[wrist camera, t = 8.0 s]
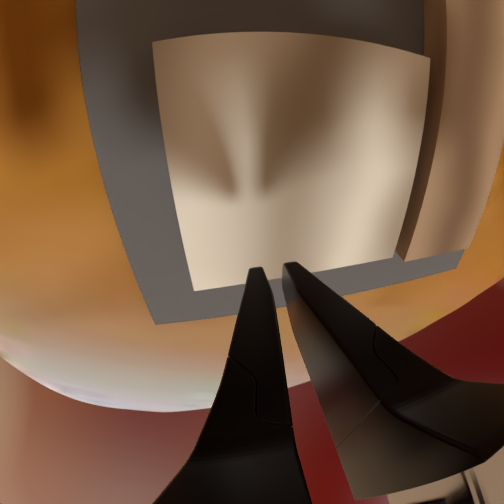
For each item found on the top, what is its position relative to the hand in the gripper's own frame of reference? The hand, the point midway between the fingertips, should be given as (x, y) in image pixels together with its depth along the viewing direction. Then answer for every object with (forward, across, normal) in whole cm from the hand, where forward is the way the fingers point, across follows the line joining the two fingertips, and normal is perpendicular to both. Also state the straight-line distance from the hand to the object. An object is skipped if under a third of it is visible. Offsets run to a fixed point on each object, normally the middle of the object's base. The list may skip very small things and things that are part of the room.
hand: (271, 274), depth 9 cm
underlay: (+5, -5, -9) cm, 11 cm away
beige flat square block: (+4, -2, -2) cm, 5 cm away
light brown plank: (+4, -11, -9) cm, 15 cm away
